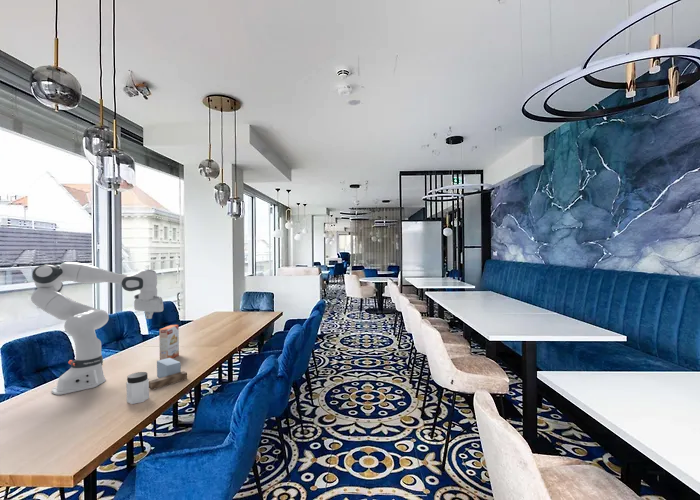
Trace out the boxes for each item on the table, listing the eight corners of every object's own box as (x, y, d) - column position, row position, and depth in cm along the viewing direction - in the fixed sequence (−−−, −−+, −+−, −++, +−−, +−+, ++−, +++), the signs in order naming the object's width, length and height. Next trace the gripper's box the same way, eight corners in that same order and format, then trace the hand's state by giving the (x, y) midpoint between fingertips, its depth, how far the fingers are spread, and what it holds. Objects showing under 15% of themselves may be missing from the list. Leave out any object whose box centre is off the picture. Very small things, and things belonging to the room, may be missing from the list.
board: (151, 389, 175) (151, 382, 175) (148, 388, 177) (148, 381, 177) (187, 379, 189) (187, 372, 189) (183, 377, 191) (183, 371, 191)
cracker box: (168, 361, 221) (167, 329, 221) (159, 361, 221) (158, 329, 221) (179, 355, 235) (179, 324, 235) (171, 355, 235) (170, 324, 235)
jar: (123, 401, 161) (123, 376, 161) (141, 395, 168) (140, 370, 168) (134, 405, 157) (133, 379, 157) (152, 398, 164) (151, 373, 164)
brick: (167, 382, 185) (167, 365, 185) (157, 376, 194) (156, 360, 194) (180, 378, 190) (180, 362, 190) (170, 373, 199) (169, 357, 199)
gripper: (166, 295, 209) (166, 318, 209) (141, 294, 216) (141, 316, 216) (157, 297, 203) (157, 320, 203) (132, 295, 210) (132, 318, 210)
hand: (148, 318), depth 209 cm, fingers closed
